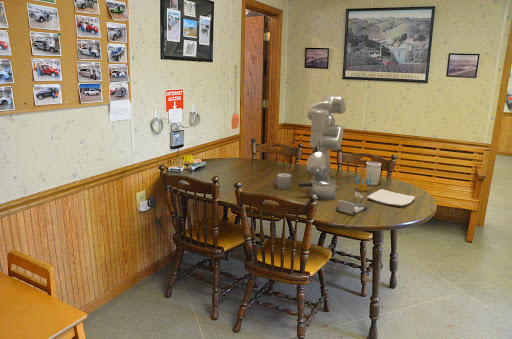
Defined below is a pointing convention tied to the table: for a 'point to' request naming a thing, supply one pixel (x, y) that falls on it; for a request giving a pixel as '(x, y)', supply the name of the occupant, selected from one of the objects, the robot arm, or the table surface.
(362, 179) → the orange blue upright piece
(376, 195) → the plate
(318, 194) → the pot
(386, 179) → the table surface
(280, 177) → the toilet tissue
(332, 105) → the robot arm
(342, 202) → the toy car
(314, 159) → the lid
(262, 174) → the table surface
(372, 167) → the jar
